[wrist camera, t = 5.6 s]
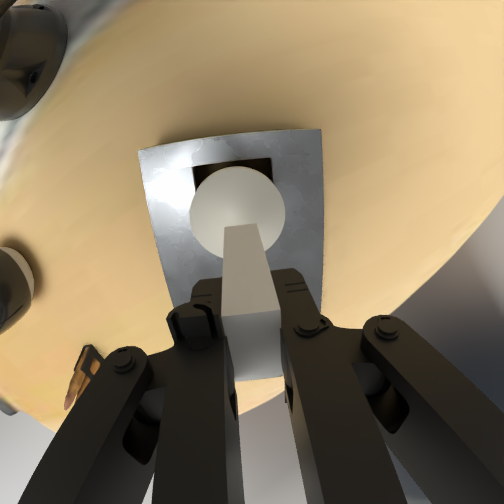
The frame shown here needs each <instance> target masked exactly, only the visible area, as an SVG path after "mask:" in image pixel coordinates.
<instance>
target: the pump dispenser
mask: <svg viewBox="0 0 504 504" xmlns="http://www.w3.org/2000/svg"><path fill="white" fill-rule="evenodd" d="M33 294H34V279H33V274H32V271H31V269H30V267H29V265H28V263H27V261H26V260H25V259H24V257H23V256H22V255H21V254H20V253H18V252H17V251H15V250H14V249H11V248H8V247H0V335H1V334H3V333H4V332H6V331H7V330H8V329H10V328H11V327H12V326H13V325H15V324H16V323H17V322H18V321H19V320H20V319H21V318H22V317H23V316H24V315H25V314H26V313H27V312H28V310H29V309H30V306H31V301H32V298H33Z"/></svg>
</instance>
